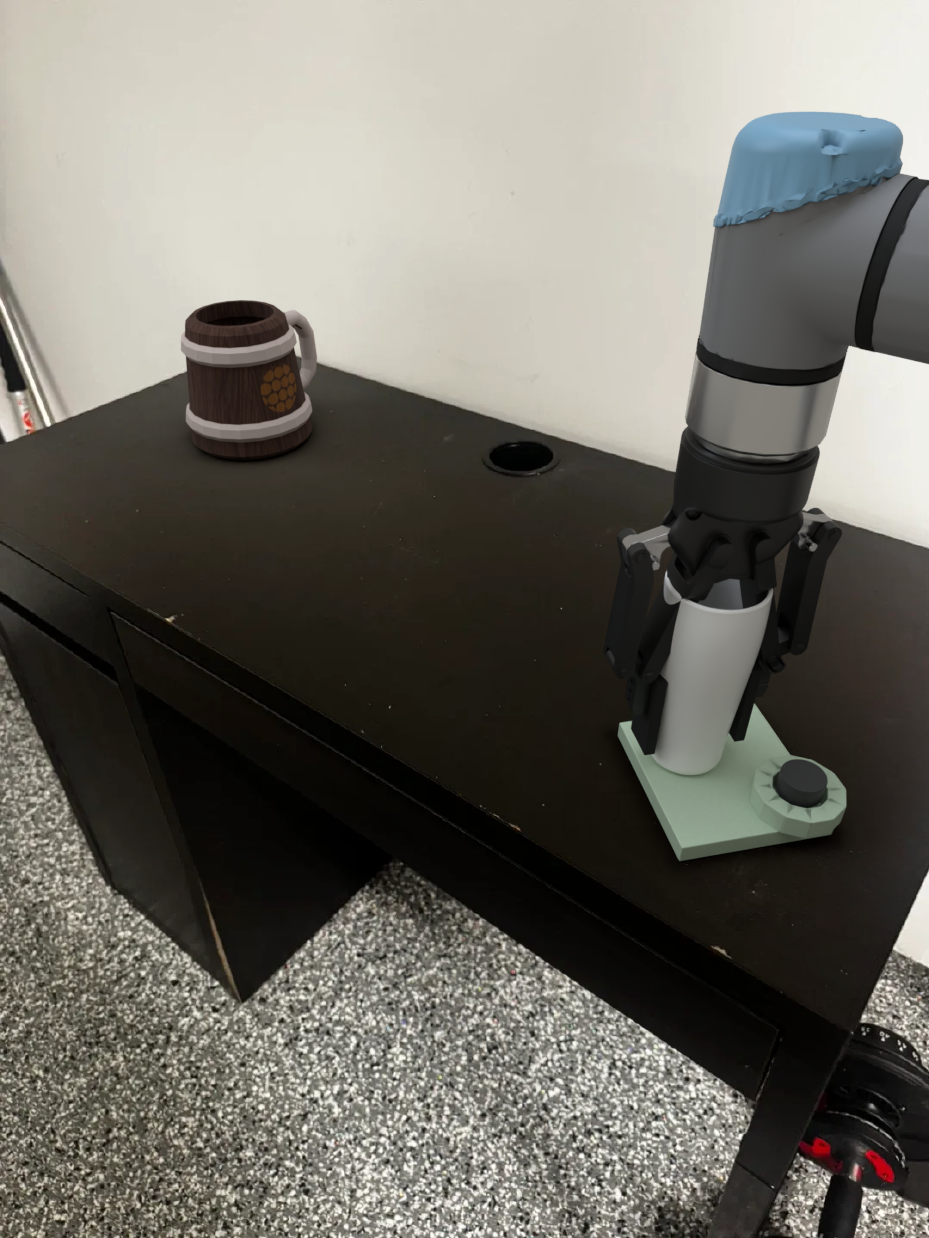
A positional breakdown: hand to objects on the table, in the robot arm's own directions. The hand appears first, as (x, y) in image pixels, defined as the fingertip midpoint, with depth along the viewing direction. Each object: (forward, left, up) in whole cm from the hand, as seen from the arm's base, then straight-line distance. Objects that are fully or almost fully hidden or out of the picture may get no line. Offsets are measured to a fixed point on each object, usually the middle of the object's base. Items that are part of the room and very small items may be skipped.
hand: (687, 734), depth 63 cm
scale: (-2, -2, -3) cm, 4 cm away
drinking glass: (0, 0, -2) cm, 2 cm away
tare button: (-6, -6, -1) cm, 8 cm away
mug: (+64, +28, -3) cm, 70 cm away
